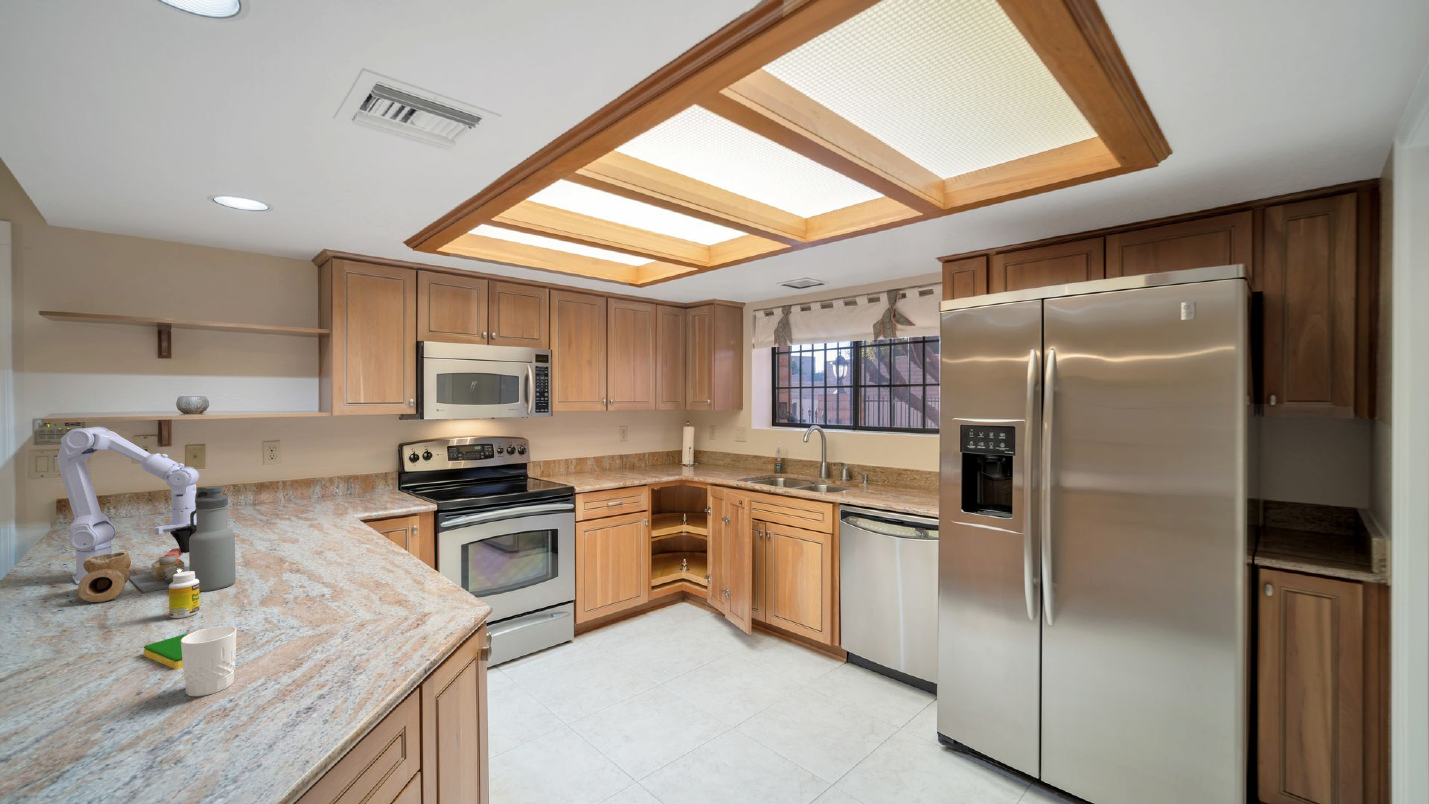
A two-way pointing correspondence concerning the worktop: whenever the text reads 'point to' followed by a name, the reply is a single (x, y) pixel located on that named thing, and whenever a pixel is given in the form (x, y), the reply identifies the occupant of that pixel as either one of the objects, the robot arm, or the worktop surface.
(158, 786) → the worktop surface
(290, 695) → the worktop surface
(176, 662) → the dish sponge
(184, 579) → the supplement bottle
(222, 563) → the water bottle
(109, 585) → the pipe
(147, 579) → the mat
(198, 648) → the white cup
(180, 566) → the valve body
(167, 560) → the lever
